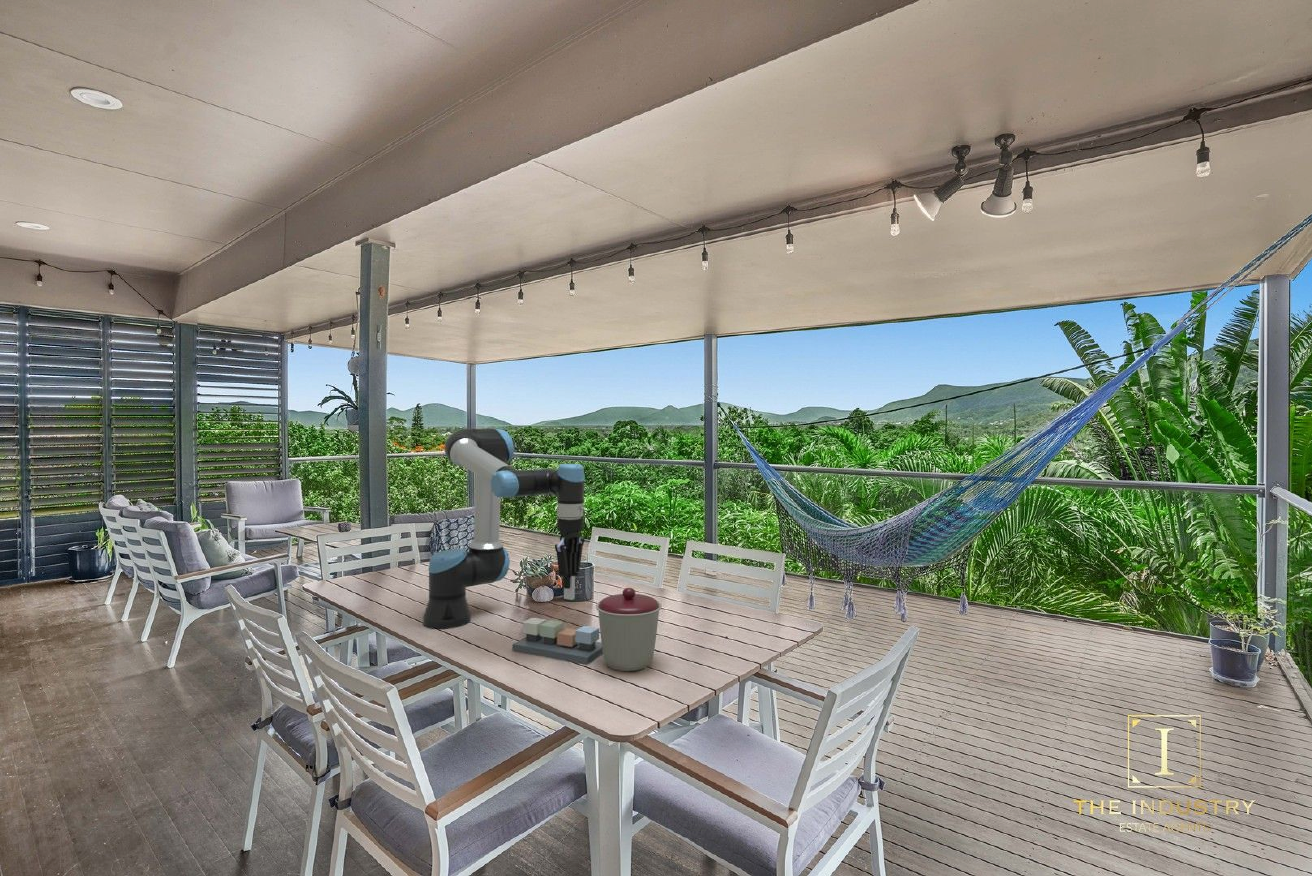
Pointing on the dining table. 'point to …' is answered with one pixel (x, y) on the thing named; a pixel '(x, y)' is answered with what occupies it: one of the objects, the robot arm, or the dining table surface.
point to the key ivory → (532, 626)
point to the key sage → (551, 628)
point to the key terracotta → (566, 637)
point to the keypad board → (558, 649)
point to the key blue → (587, 635)
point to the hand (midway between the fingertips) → (569, 598)
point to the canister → (628, 629)
